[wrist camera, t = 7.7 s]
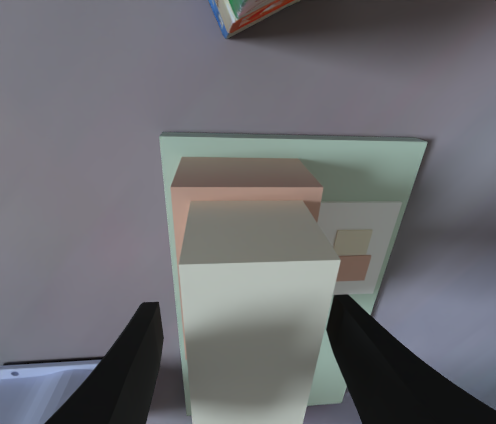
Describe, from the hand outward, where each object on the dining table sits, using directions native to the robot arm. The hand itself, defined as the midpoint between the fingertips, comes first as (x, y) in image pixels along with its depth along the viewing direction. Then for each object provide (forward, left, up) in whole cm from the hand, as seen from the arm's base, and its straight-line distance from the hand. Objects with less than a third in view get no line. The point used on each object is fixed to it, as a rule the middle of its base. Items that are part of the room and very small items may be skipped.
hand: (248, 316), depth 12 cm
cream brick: (0, 0, -2) cm, 2 cm away
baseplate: (+3, -6, -7) cm, 10 cm away
